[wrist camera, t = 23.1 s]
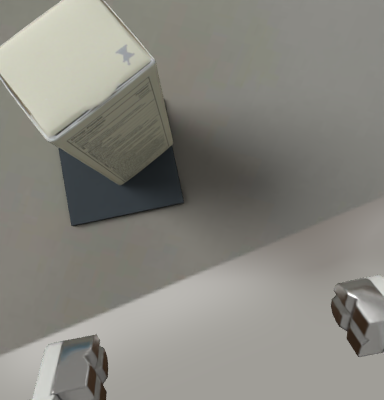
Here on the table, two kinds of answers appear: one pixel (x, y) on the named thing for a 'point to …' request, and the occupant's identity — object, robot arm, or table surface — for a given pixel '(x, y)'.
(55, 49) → the box
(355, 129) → the table surface
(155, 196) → the mat
